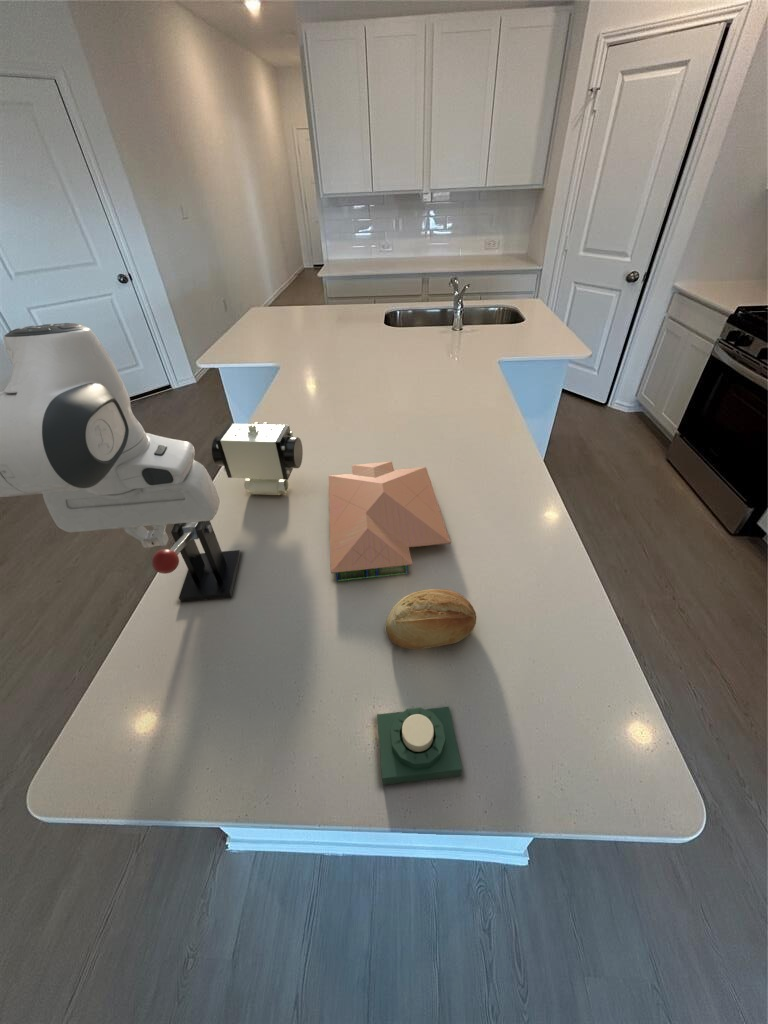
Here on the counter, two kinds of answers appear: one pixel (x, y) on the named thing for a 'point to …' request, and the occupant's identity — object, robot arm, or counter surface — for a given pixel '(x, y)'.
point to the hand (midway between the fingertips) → (157, 543)
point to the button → (417, 733)
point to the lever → (174, 550)
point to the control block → (417, 765)
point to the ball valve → (258, 455)
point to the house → (381, 517)
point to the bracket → (206, 565)
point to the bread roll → (430, 619)
